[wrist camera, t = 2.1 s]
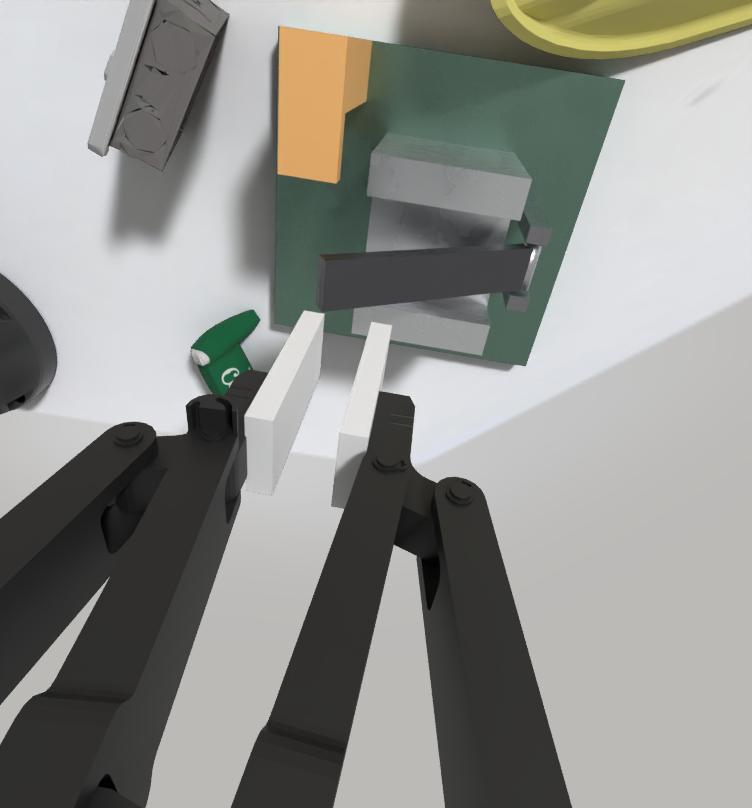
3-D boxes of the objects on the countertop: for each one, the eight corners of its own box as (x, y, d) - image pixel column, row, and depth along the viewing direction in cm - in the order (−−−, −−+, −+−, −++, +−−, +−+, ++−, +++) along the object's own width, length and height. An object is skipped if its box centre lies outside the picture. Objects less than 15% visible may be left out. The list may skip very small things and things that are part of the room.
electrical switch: (177, -49, 29) (101, -68, 22) (258, 16, 31) (213, 18, 23) (127, 105, 34) (51, 132, 27) (199, 154, 36) (147, 192, 28)
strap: (314, 304, 25) (322, 313, 24) (317, 252, 23) (326, 260, 23) (520, 283, 31) (531, 290, 30) (533, 241, 29) (545, 247, 29)
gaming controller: (240, 302, 43) (176, 336, 41) (258, 308, 40) (190, 345, 38) (283, 390, 48) (228, 425, 46) (301, 401, 45) (244, 439, 43)
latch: (314, 147, 32) (277, 173, 25) (320, 32, 29) (279, 25, 22) (360, 155, 32) (336, 183, 25) (372, 40, 29) (347, 36, 22)
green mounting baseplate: (279, 315, 41) (240, 375, 34) (285, 27, 30) (228, 18, 23) (523, 356, 41) (540, 427, 33) (618, 79, 30) (677, 88, 22)
